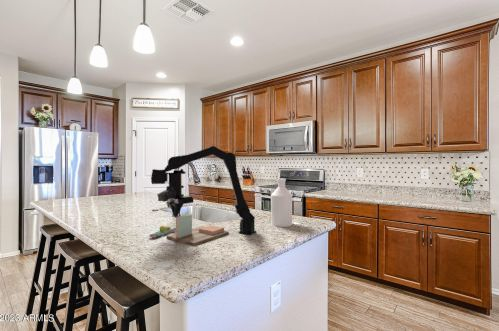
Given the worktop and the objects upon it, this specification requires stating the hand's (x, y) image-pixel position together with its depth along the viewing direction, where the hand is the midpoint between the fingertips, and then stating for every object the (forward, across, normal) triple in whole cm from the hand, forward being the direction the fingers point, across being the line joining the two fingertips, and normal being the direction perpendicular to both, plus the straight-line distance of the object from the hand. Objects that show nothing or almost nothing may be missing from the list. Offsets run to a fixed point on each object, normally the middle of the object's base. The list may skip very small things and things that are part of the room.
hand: (175, 217), depth 125 cm
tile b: (+8, +6, 0) cm, 10 cm away
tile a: (+7, +7, +12) cm, 15 cm away
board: (+9, +9, +6) cm, 14 cm away
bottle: (+9, +29, +49) cm, 58 cm away
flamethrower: (+10, -10, +4) cm, 14 cm away
